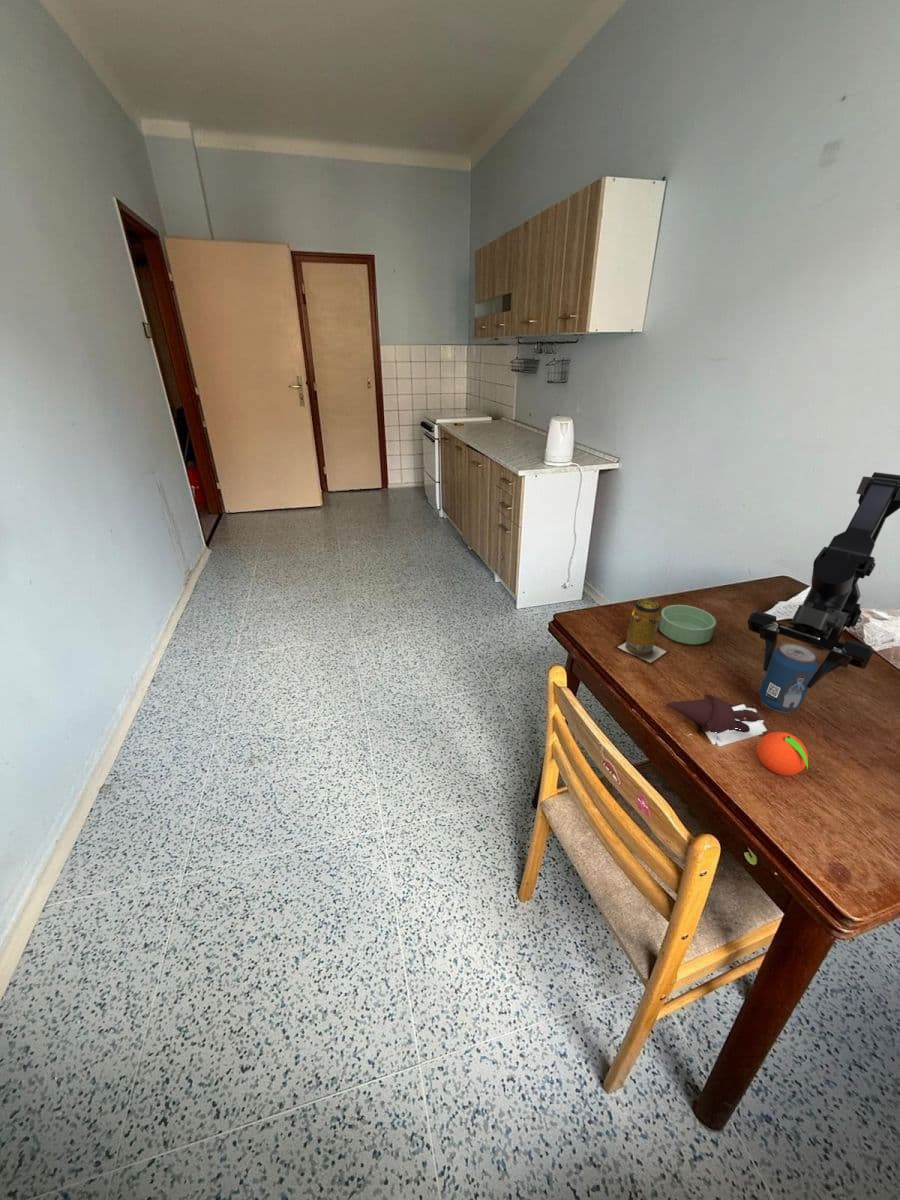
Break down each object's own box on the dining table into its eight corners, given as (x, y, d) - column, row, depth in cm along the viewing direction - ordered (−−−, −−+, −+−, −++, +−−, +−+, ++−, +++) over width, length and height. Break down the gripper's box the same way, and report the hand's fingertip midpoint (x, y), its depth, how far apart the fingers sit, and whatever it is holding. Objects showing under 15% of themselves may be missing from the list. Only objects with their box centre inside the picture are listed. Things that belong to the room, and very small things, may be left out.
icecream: (673, 709, 84) (766, 731, 80) (672, 677, 89) (759, 696, 85) (661, 730, 88) (749, 751, 85) (661, 698, 94) (743, 717, 90)
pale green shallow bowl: (693, 618, 124) (697, 603, 122) (722, 643, 113) (727, 627, 111) (649, 621, 123) (652, 606, 120) (673, 647, 112) (677, 631, 110)
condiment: (634, 637, 116) (642, 594, 111) (666, 651, 110) (677, 607, 105) (617, 648, 112) (625, 604, 106) (650, 664, 106) (660, 618, 101)
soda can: (771, 687, 95) (791, 637, 89) (807, 708, 89) (830, 656, 83) (748, 697, 92) (766, 646, 86) (783, 719, 86) (805, 667, 81)
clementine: (816, 785, 77) (832, 753, 73) (779, 793, 75) (794, 761, 72) (776, 749, 83) (789, 719, 80) (742, 756, 82) (754, 725, 79)
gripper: (765, 572, 88) (728, 645, 86) (895, 606, 76) (854, 692, 74) (766, 595, 96) (732, 661, 95) (884, 629, 84) (846, 706, 83)
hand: (786, 678), depth 87 cm, fingers closed on soda can, 7 cm apart
